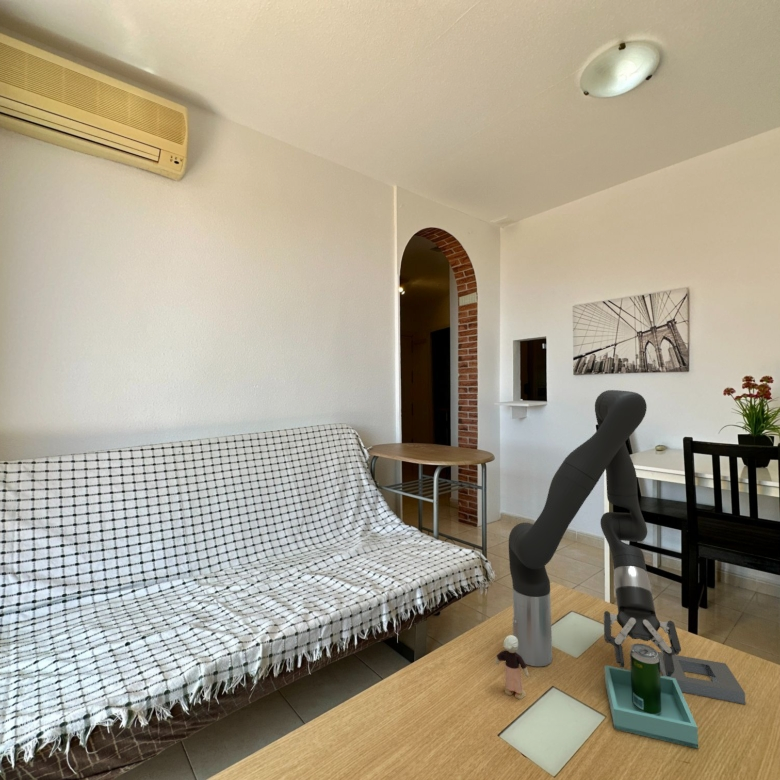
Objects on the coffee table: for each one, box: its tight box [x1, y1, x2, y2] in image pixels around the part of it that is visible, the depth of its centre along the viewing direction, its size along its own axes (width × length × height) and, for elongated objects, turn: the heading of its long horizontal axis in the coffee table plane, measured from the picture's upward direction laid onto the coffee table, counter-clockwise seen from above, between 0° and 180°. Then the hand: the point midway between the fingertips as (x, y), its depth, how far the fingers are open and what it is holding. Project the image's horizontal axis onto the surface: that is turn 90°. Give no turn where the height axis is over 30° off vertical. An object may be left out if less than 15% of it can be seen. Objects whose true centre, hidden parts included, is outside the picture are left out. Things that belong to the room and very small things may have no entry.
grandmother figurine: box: [494, 634, 530, 700], centre depth 93 cm, size 8×4×13 cm, turn 65°
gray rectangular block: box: [657, 651, 746, 705], centre depth 95 cm, size 14×10×2 cm
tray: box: [604, 664, 699, 749], centre depth 86 cm, size 14×14×4 cm
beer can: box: [629, 643, 662, 716], centre depth 87 cm, size 5×5×12 cm
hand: (645, 670), depth 86 cm, fingers open, 8 cm apart
